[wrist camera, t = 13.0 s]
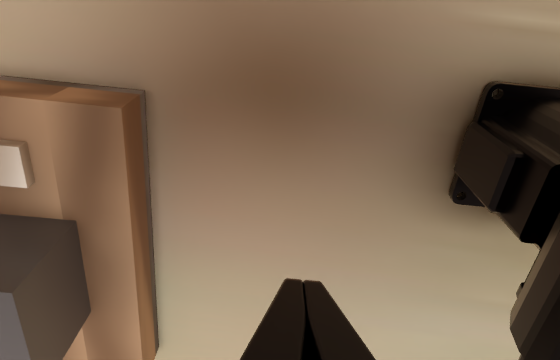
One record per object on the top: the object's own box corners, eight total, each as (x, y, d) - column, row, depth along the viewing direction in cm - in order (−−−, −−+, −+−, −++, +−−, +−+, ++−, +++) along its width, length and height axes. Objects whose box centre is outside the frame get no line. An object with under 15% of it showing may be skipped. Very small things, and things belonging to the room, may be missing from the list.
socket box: (144, 90, 19) (115, 112, 16) (158, 346, 27) (141, 395, 24) (-86, 66, 19) (-162, 84, 16) (-2, 333, 27) (-42, 380, 24)
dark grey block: (94, 200, 21) (12, 293, 15) (106, 286, 24) (40, 396, 17) (-13, 190, 21) (-142, 280, 15) (11, 278, 24) (-89, 385, 17)
